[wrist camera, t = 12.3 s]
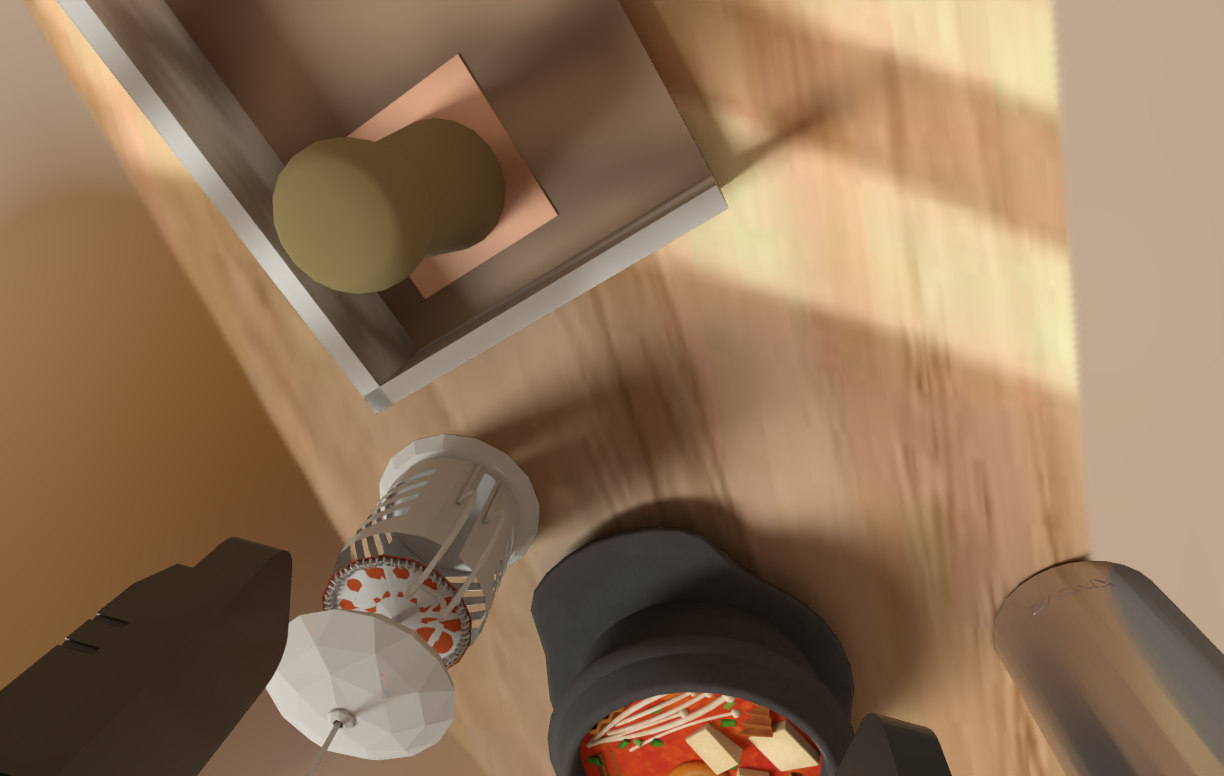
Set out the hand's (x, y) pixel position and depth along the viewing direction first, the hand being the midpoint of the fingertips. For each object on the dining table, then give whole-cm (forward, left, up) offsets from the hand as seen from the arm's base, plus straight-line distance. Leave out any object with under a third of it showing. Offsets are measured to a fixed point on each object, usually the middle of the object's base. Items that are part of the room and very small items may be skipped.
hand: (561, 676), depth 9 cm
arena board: (+11, +4, -27) cm, 29 cm away
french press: (-7, +16, -27) cm, 32 cm away
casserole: (-24, +11, -27) cm, 38 cm away
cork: (+8, +6, -25) cm, 28 cm away
